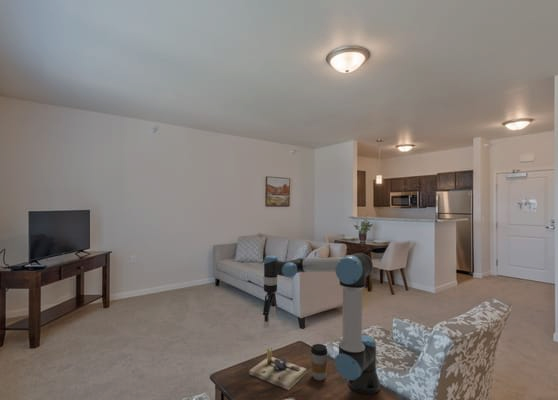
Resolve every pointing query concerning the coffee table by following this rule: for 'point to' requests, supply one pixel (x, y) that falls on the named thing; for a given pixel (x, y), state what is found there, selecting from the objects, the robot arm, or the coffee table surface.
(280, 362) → the grey round handled piece
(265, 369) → the lever board
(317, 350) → the coffee cup
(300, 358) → the coffee table surface
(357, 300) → the robot arm
